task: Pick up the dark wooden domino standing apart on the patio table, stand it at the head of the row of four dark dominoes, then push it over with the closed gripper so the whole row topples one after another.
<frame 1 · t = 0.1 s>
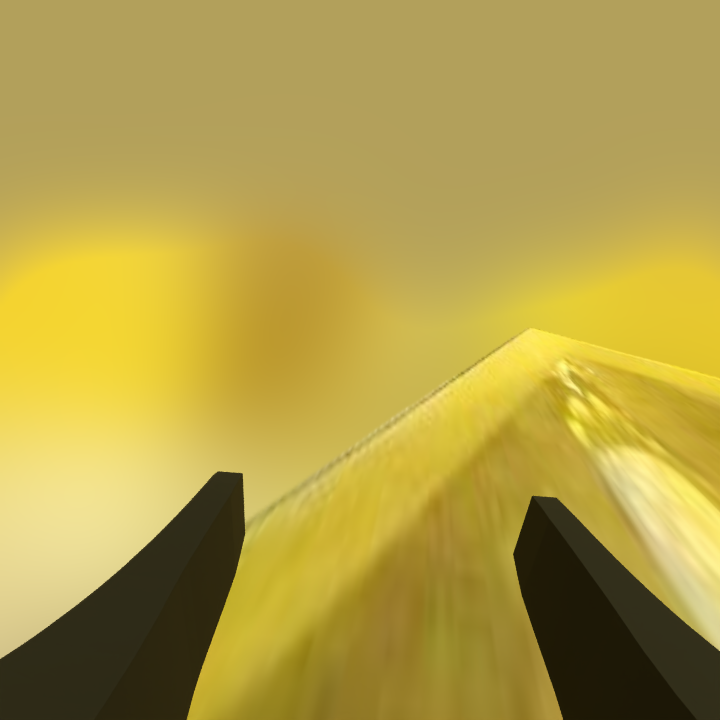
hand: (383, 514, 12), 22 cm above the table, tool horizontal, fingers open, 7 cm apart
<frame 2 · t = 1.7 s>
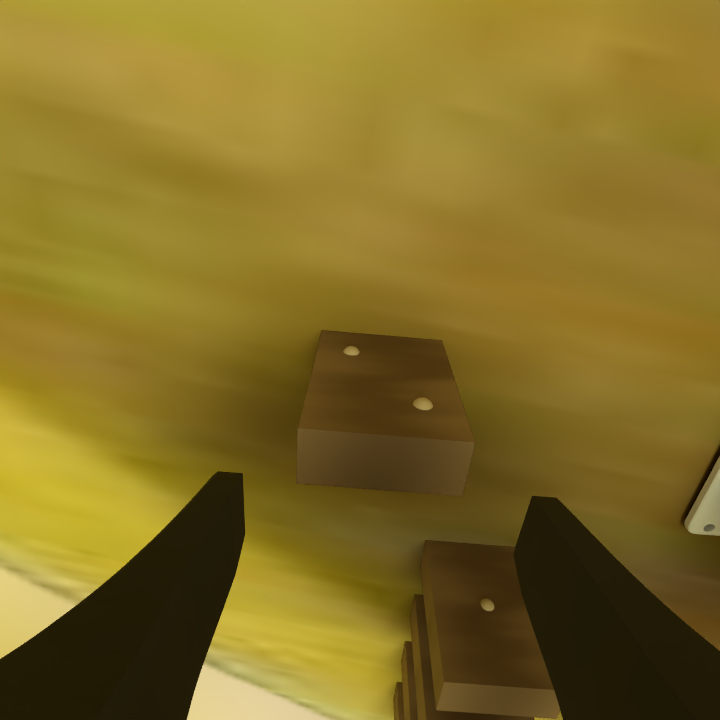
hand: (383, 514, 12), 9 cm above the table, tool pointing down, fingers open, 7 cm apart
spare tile: (379, 356, 20), on the table
tile 4: (443, 654, 29), on the table
tile 5: (432, 693, 31), on the table
tile 3: (455, 609, 27), on the table
tile 2: (469, 557, 25), on the table
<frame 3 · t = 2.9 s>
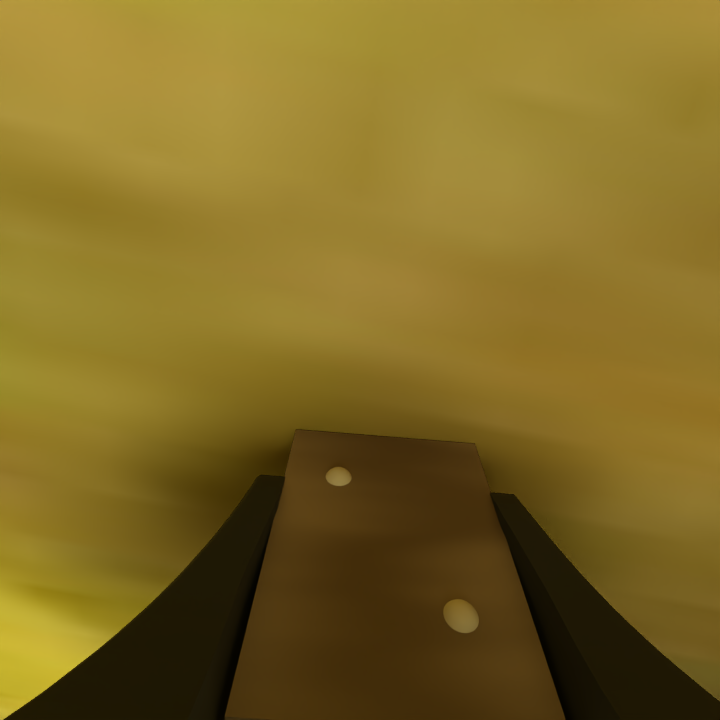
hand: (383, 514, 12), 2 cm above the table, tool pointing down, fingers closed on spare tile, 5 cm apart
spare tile: (382, 464, 13), on the table, touching gripper
when the fingers open (3 cm above the table, at t = 6.1 s): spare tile drops 1 cm, on the table.
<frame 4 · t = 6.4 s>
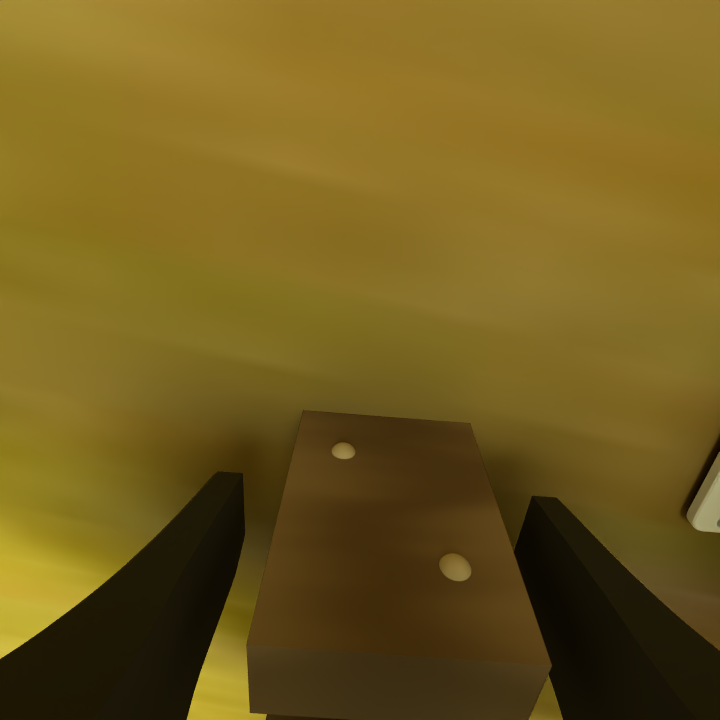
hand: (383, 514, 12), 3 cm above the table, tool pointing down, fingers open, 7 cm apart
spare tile: (383, 444, 14), on the table
tile 2: (365, 566, 17), on the table
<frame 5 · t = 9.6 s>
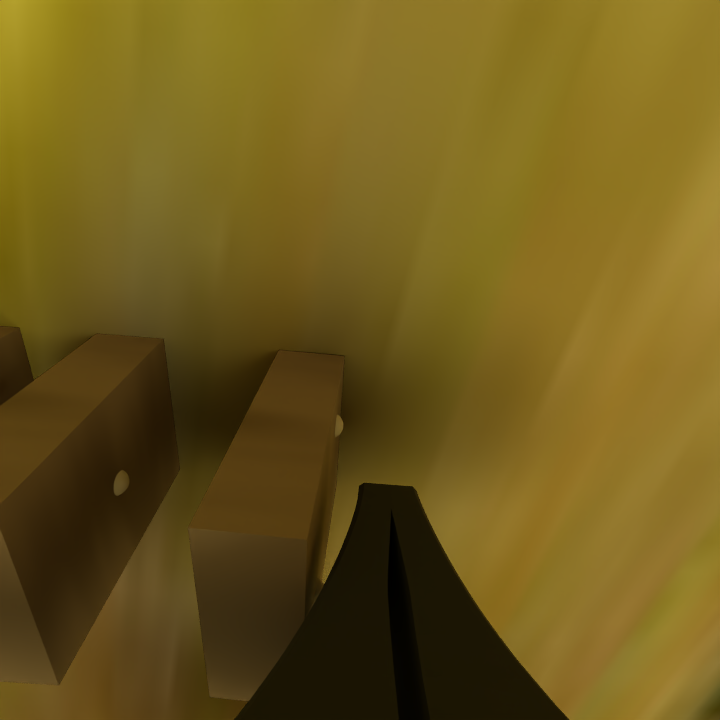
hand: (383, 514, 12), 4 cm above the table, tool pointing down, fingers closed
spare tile: (309, 421, 15), on the table, touching gripper
tile 3: (7, 396, 15), on the table
tile 2: (141, 406, 15), on the table
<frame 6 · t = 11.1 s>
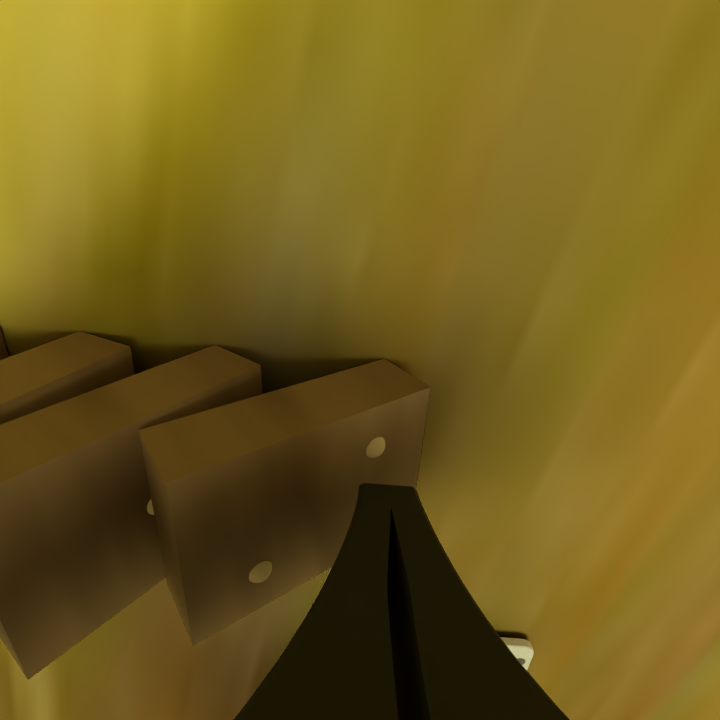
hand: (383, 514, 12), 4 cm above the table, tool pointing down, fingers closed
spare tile: (398, 442, 14), point 1 cm above the table, tilted 52°, touching tile 2
tile 3: (117, 410, 15), on the table, tilted 22°, touching tile 4
tile 2: (242, 426, 15), point 1 cm above the table, tilted 36°, touching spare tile
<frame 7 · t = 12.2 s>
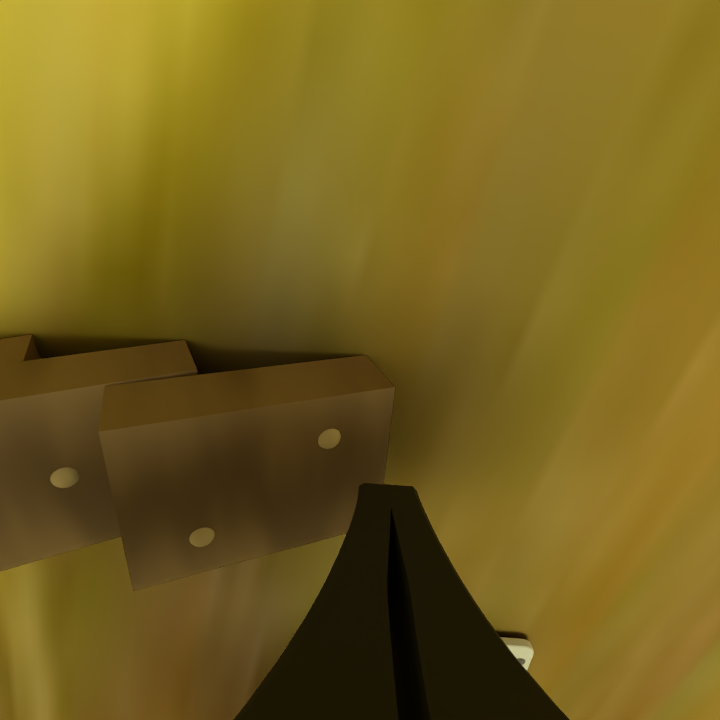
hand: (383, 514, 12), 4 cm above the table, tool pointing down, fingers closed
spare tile: (372, 441, 14), point 1 cm above the table, tilted 66°, touching tile 2
tile 3: (54, 420, 14), point 1 cm above the table, tilted 62°, touching tile 2, tile 4
tile 2: (199, 426, 14), point 1 cm above the table, tilted 61°, touching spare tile, tile 3
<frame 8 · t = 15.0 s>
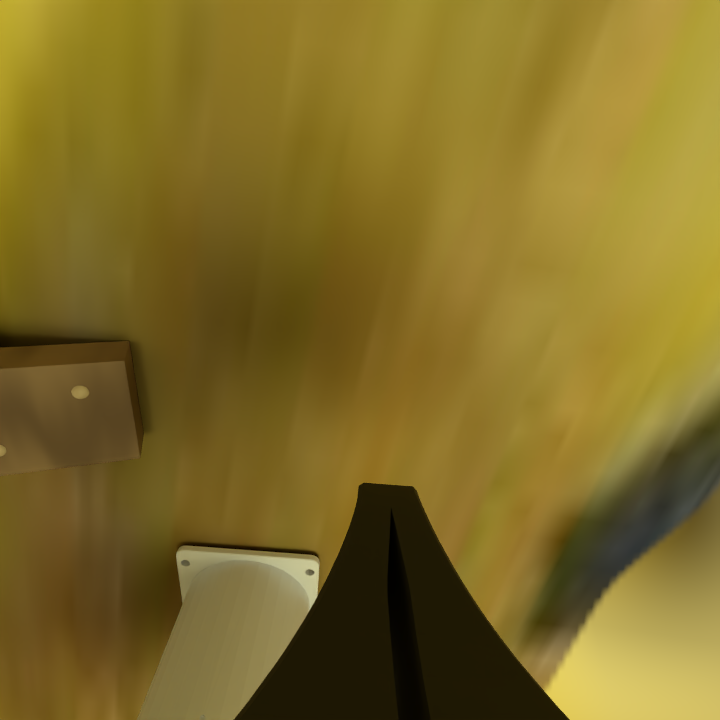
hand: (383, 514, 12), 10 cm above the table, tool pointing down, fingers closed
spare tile: (134, 400, 21), point 1 cm above the table, tilted 70°, touching tile 2
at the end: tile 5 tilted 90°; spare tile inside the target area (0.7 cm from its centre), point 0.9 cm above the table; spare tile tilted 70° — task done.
